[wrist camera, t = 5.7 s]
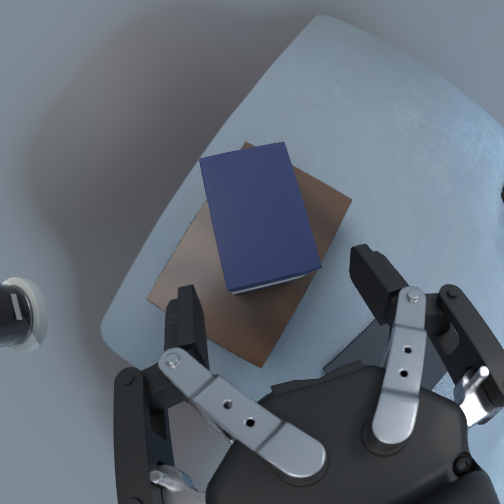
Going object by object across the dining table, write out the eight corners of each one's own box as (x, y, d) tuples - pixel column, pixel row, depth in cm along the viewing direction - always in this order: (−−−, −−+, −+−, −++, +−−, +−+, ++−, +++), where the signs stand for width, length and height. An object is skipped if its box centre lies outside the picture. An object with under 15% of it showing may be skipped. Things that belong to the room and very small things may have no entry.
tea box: (234, 295, 26) (226, 291, 15) (216, 214, 27) (198, 158, 16) (290, 282, 26) (322, 267, 15) (269, 202, 27) (284, 140, 16)
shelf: (258, 354, 31) (261, 368, 24) (166, 300, 32) (146, 299, 25) (332, 218, 34) (352, 199, 27) (245, 170, 35) (245, 141, 28)
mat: (383, 436, 30) (385, 437, 29) (322, 368, 31) (323, 369, 31) (452, 360, 31) (455, 361, 31) (403, 288, 33) (405, 288, 32)
